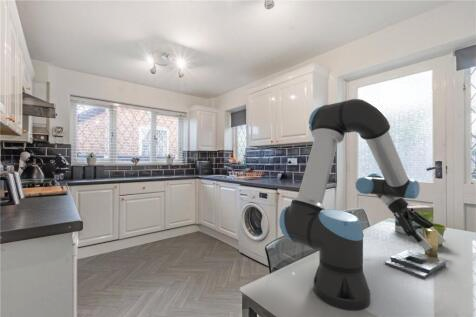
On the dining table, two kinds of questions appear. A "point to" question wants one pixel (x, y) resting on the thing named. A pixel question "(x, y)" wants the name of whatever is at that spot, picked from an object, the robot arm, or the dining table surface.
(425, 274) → the grey square-hole plate
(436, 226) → the plant pot
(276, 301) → the dining table surface
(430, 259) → the grey slotted plate
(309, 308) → the dining table surface
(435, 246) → the brass pin
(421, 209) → the tea box
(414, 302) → the dining table surface
